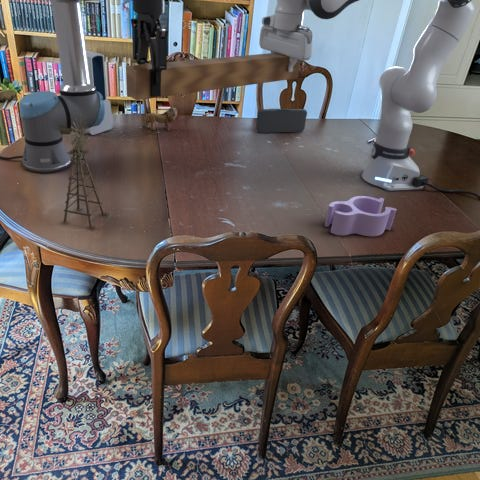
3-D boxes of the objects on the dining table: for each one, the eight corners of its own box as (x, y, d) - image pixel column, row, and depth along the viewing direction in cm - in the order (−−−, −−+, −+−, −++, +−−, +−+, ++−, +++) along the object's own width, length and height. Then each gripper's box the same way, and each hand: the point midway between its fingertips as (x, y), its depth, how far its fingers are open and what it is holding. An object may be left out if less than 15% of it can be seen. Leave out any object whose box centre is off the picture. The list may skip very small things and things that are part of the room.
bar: (136, 100, 119) (136, 70, 115) (126, 94, 122) (125, 65, 118) (297, 78, 154) (301, 55, 150) (286, 74, 157) (290, 51, 153)
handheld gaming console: (301, 129, 213) (305, 108, 208) (304, 131, 211) (308, 110, 205) (254, 131, 206) (257, 108, 200) (257, 133, 204) (259, 110, 198)
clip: (337, 240, 135) (342, 219, 131) (318, 218, 145) (322, 198, 141) (395, 233, 141) (402, 213, 137) (373, 213, 151) (378, 194, 147)
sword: (405, 131, 224) (406, 128, 224) (410, 133, 222) (411, 130, 222) (362, 142, 208) (362, 140, 208) (367, 144, 206) (368, 142, 206)
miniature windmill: (90, 229, 128) (80, 122, 112) (62, 223, 129) (47, 117, 113) (105, 213, 136) (97, 111, 119) (78, 208, 137) (67, 106, 120)
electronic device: (90, 136, 184) (84, 56, 167) (77, 131, 187) (69, 52, 170) (113, 128, 193) (109, 52, 177) (100, 123, 196) (95, 48, 180)
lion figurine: (175, 126, 202) (175, 105, 197) (178, 130, 198) (178, 109, 193) (141, 127, 197) (140, 106, 192) (143, 131, 193) (143, 110, 188)
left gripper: (183, 0, 108) (180, 101, 120) (142, -11, 118) (144, 82, 131) (155, 0, 103) (155, 104, 116) (115, -11, 114) (120, 85, 127)
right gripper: (320, 28, 139) (312, 75, 147) (272, 16, 152) (267, 61, 159) (306, 29, 136) (298, 77, 143) (258, 17, 148) (254, 62, 156)
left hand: (149, 92), depth 124 cm, fingers closed on bar, 5 cm apart
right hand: (282, 69), depth 151 cm, fingers closed on bar, 5 cm apart
